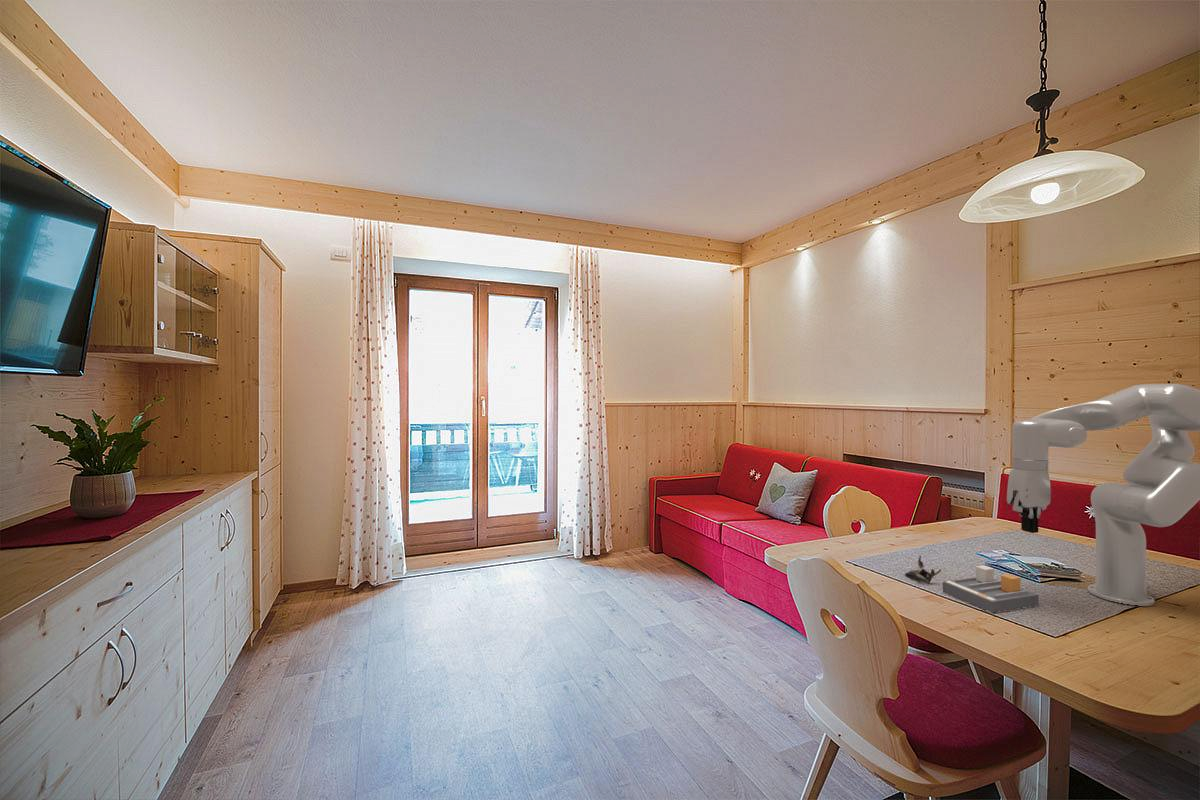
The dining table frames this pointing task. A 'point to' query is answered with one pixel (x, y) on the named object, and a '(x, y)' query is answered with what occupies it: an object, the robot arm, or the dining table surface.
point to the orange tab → (1010, 583)
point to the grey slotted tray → (989, 594)
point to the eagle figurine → (923, 571)
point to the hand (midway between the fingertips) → (1029, 531)
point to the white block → (984, 574)
